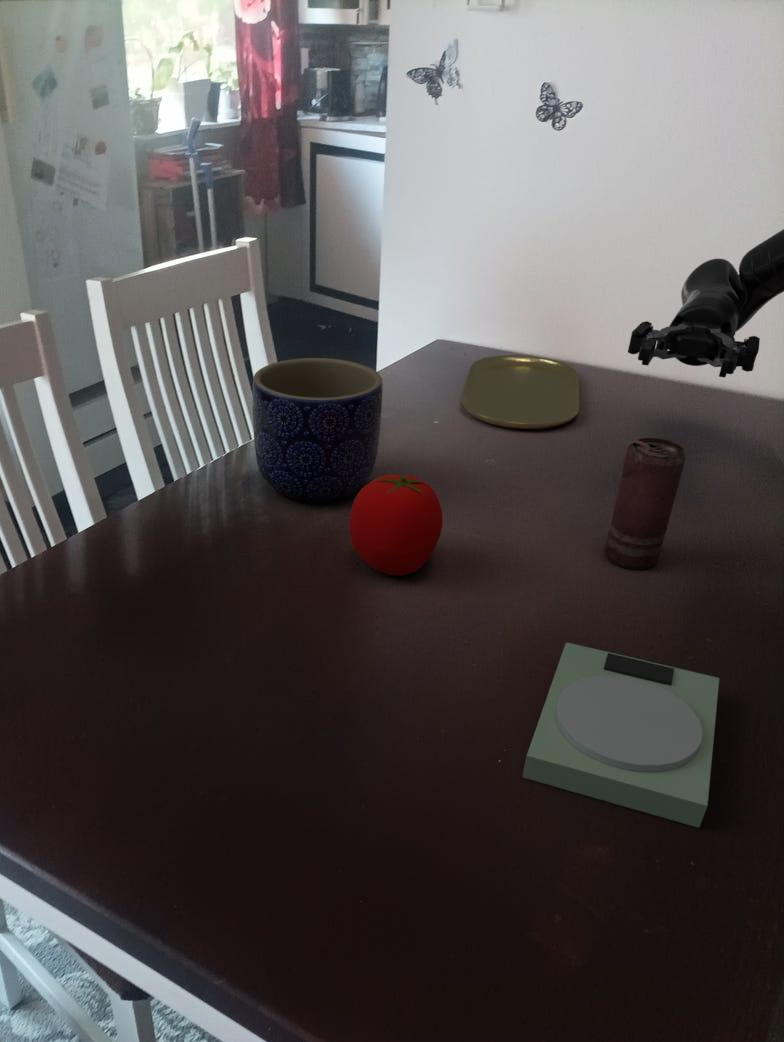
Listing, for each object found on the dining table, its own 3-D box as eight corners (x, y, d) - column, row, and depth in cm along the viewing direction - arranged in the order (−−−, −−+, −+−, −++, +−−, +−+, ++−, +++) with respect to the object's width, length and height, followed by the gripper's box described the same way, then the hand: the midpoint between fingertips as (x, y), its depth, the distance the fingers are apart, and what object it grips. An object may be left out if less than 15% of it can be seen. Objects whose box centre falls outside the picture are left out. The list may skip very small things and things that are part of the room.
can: (606, 541, 110) (631, 431, 102) (661, 552, 108) (690, 441, 100) (597, 563, 105) (622, 450, 97) (653, 575, 103) (683, 461, 95)
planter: (330, 452, 131) (334, 350, 123) (401, 494, 120) (410, 384, 112) (232, 477, 124) (228, 370, 115) (297, 524, 112) (298, 409, 104)
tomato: (358, 591, 99) (363, 502, 93) (340, 546, 108) (343, 462, 102) (450, 584, 101) (460, 496, 95) (425, 540, 109) (433, 457, 103)
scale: (561, 662, 89) (567, 635, 87) (712, 699, 84) (722, 670, 82) (522, 777, 75) (528, 747, 73) (699, 828, 71) (710, 798, 69)
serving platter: (454, 426, 140) (455, 416, 140) (473, 359, 168) (474, 351, 168) (577, 438, 137) (579, 428, 136) (576, 368, 165) (578, 359, 164)
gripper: (653, 289, 115) (628, 320, 103) (773, 304, 110) (761, 338, 98) (639, 348, 120) (614, 384, 108) (754, 365, 114) (741, 405, 103)
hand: (684, 362), depth 103 cm, fingers open, 8 cm apart
